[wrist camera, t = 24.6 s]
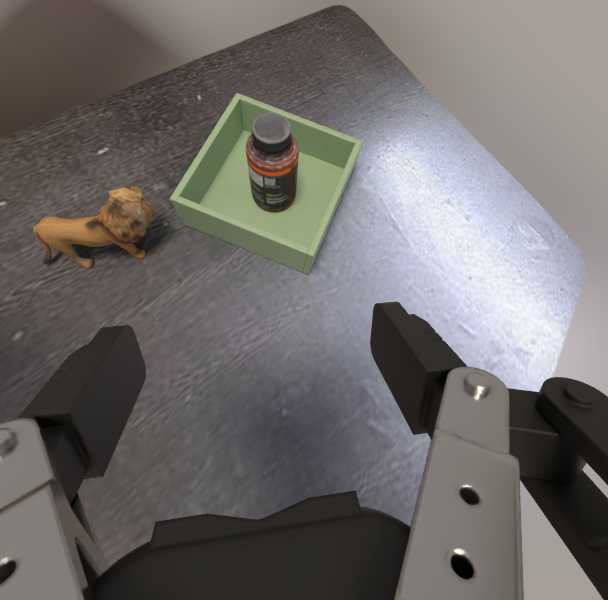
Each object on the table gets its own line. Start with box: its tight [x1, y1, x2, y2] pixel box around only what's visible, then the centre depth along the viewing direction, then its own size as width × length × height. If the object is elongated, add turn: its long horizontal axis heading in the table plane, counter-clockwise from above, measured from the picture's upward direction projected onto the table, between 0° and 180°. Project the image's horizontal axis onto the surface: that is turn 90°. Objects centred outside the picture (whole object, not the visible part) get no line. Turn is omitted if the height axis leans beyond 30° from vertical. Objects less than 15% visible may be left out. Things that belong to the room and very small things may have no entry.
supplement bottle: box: [246, 112, 299, 212], centre depth 37 cm, size 6×6×11 cm
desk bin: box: [170, 93, 363, 275], centre depth 41 cm, size 18×18×6 cm
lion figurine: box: [33, 186, 153, 268], centre depth 35 cm, size 15×5×9 cm, turn 110°
